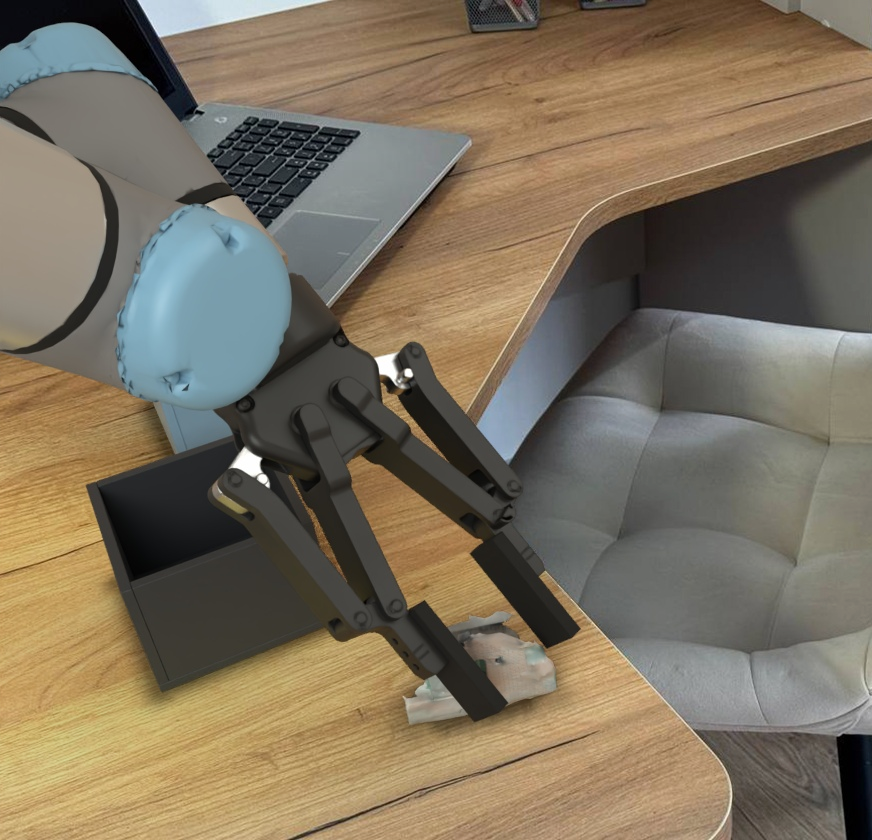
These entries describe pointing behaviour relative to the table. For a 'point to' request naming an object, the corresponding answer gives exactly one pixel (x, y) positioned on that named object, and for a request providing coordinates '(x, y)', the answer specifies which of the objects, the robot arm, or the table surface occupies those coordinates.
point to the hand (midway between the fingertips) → (527, 674)
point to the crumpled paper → (488, 668)
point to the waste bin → (196, 565)
